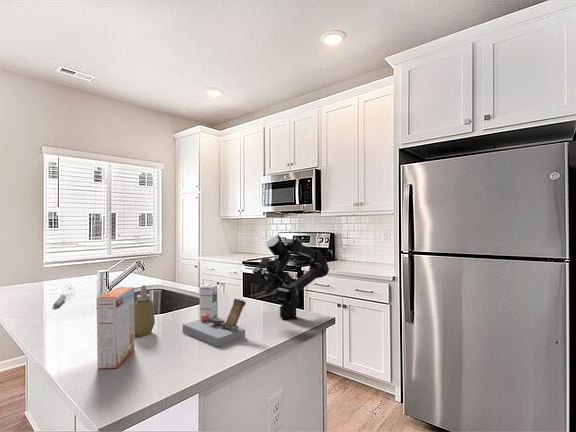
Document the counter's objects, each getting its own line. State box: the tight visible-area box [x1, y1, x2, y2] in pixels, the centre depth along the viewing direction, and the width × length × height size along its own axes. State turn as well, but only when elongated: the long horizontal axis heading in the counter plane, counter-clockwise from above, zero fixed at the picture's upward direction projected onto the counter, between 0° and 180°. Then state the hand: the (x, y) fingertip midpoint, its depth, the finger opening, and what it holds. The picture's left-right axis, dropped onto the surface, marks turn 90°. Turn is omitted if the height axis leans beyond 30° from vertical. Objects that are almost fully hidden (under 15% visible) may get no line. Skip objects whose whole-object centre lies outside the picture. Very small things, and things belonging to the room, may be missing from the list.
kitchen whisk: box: [52, 284, 76, 310], centre depth 172 cm, size 6×34×6 cm, turn 23°
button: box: [201, 314, 209, 322], centre depth 131 cm, size 3×3×2 cm
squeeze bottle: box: [134, 284, 156, 337], centre depth 125 cm, size 8×8×18 cm
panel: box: [182, 317, 246, 348], centre depth 124 cm, size 12×22×5 cm, turn 49°
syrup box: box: [199, 283, 219, 320], centre depth 144 cm, size 6×6×14 cm
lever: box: [224, 298, 247, 330], centre depth 123 cm, size 2×4×11 cm, turn 49°
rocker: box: [208, 318, 226, 324], centre depth 127 cm, size 5×4×1 cm
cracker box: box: [96, 286, 135, 370], centre depth 103 cm, size 14×6×21 cm, turn 5°
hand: (261, 292), depth 134 cm, fingers open, 4 cm apart
